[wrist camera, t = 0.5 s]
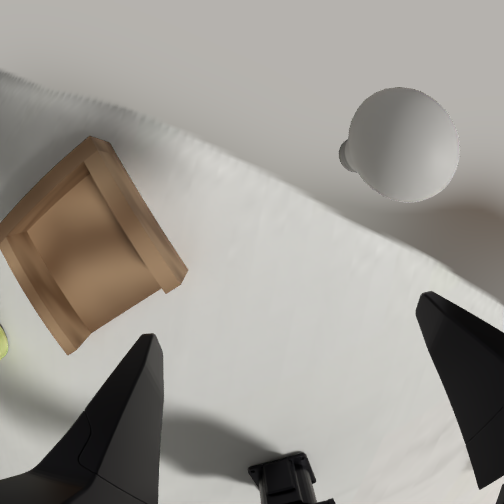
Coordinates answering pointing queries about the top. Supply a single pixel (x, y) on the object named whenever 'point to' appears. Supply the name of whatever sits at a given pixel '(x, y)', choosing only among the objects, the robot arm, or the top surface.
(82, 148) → the u rest
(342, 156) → the lightbulb
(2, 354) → the tube
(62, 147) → the top surface
